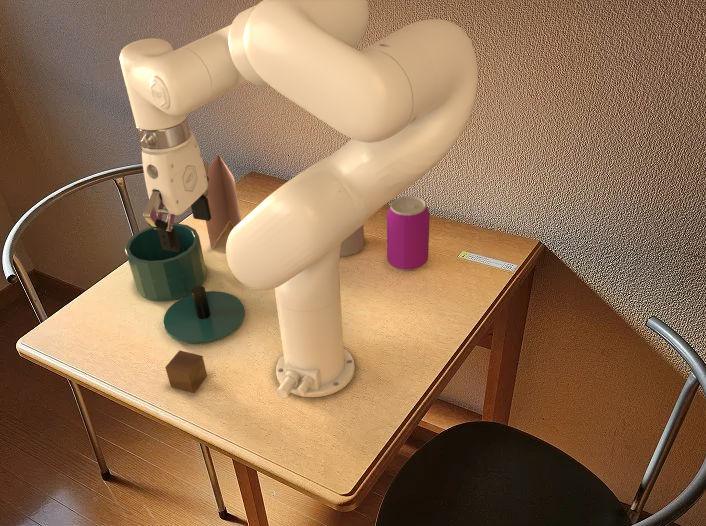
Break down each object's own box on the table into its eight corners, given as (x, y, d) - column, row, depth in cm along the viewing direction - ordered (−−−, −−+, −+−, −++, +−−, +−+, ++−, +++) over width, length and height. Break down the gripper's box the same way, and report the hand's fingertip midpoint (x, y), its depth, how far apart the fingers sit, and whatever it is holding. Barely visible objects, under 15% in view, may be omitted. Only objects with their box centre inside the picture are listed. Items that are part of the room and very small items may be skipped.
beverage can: (383, 271, 137) (382, 214, 129) (391, 248, 142) (391, 192, 134) (424, 275, 134) (426, 217, 126) (431, 252, 140) (433, 195, 132)
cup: (353, 229, 149) (351, 184, 142) (371, 248, 143) (369, 202, 136) (314, 240, 147) (310, 195, 140) (331, 260, 141) (328, 214, 134)
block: (193, 393, 117) (188, 373, 114) (170, 387, 119) (164, 367, 116) (207, 376, 120) (202, 355, 117) (184, 370, 122) (179, 350, 119)
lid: (220, 354, 124) (213, 322, 119) (148, 336, 129) (139, 306, 125) (259, 304, 133) (254, 273, 128) (191, 290, 138) (184, 260, 134)
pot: (183, 307, 135) (173, 268, 129) (122, 294, 140) (110, 256, 134) (219, 267, 143) (211, 229, 138) (160, 256, 148) (151, 218, 143)
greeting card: (225, 220, 156) (214, 153, 146) (258, 221, 154) (249, 154, 144) (207, 249, 149) (193, 181, 138) (242, 251, 147) (230, 182, 136)
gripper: (153, 161, 100) (179, 266, 112) (215, 110, 111) (233, 210, 123) (109, 155, 103) (138, 259, 115) (174, 106, 114) (195, 205, 126)
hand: (187, 234), depth 119 cm, fingers open, 9 cm apart
